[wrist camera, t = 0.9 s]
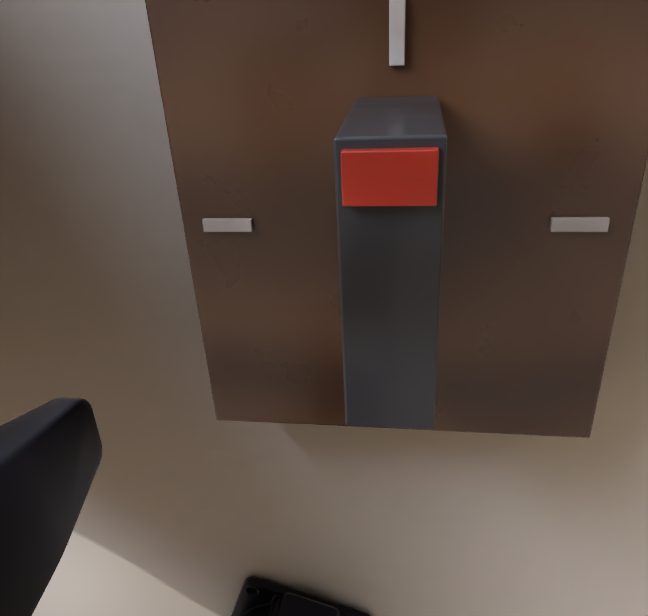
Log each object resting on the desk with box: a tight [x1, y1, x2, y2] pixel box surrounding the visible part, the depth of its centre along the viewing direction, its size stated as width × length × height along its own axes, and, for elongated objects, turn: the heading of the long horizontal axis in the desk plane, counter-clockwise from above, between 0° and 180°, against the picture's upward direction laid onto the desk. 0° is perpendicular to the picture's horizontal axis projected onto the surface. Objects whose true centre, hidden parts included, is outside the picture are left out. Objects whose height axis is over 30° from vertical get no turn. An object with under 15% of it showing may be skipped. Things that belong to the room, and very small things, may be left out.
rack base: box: [145, 0, 648, 438], centre depth 17 cm, size 14×12×3 cm
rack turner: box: [333, 96, 448, 430], centre depth 14 cm, size 6×2×5 cm, turn 3°
